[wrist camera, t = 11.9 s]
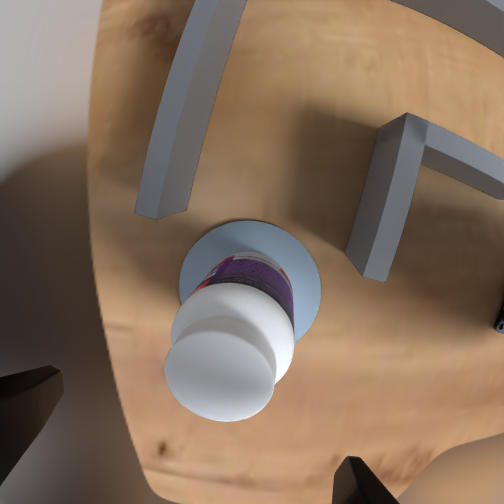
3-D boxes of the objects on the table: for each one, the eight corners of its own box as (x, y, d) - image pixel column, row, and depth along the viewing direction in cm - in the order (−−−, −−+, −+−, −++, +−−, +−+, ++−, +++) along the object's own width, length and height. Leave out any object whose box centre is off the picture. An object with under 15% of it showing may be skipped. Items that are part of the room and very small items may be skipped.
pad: (339, 243, 19) (340, 244, 19) (296, 367, 21) (296, 370, 21) (196, 204, 20) (194, 204, 19) (170, 332, 22) (169, 334, 21)
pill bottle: (214, 241, 20) (151, 292, 10) (302, 261, 19) (314, 332, 10) (200, 321, 21) (143, 413, 11) (281, 340, 21) (274, 447, 11)
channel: (513, 52, 14) (549, 34, 10) (469, 291, 19) (507, 317, 14) (246, -45, 15) (237, -87, 11) (169, 205, 20) (134, 213, 15)
